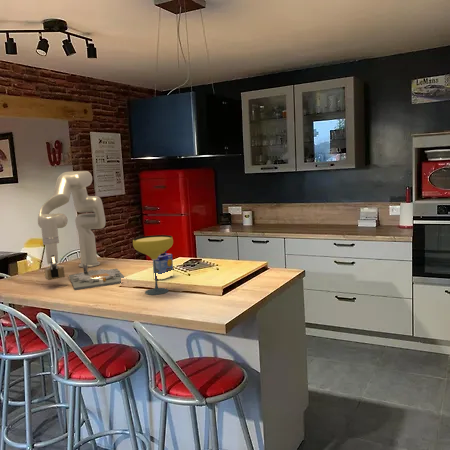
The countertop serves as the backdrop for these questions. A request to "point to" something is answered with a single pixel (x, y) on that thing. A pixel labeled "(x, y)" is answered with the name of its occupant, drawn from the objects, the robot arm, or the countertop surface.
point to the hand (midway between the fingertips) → (54, 275)
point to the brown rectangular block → (49, 275)
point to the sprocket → (95, 275)
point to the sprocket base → (95, 282)
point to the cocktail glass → (153, 253)
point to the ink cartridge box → (163, 263)
